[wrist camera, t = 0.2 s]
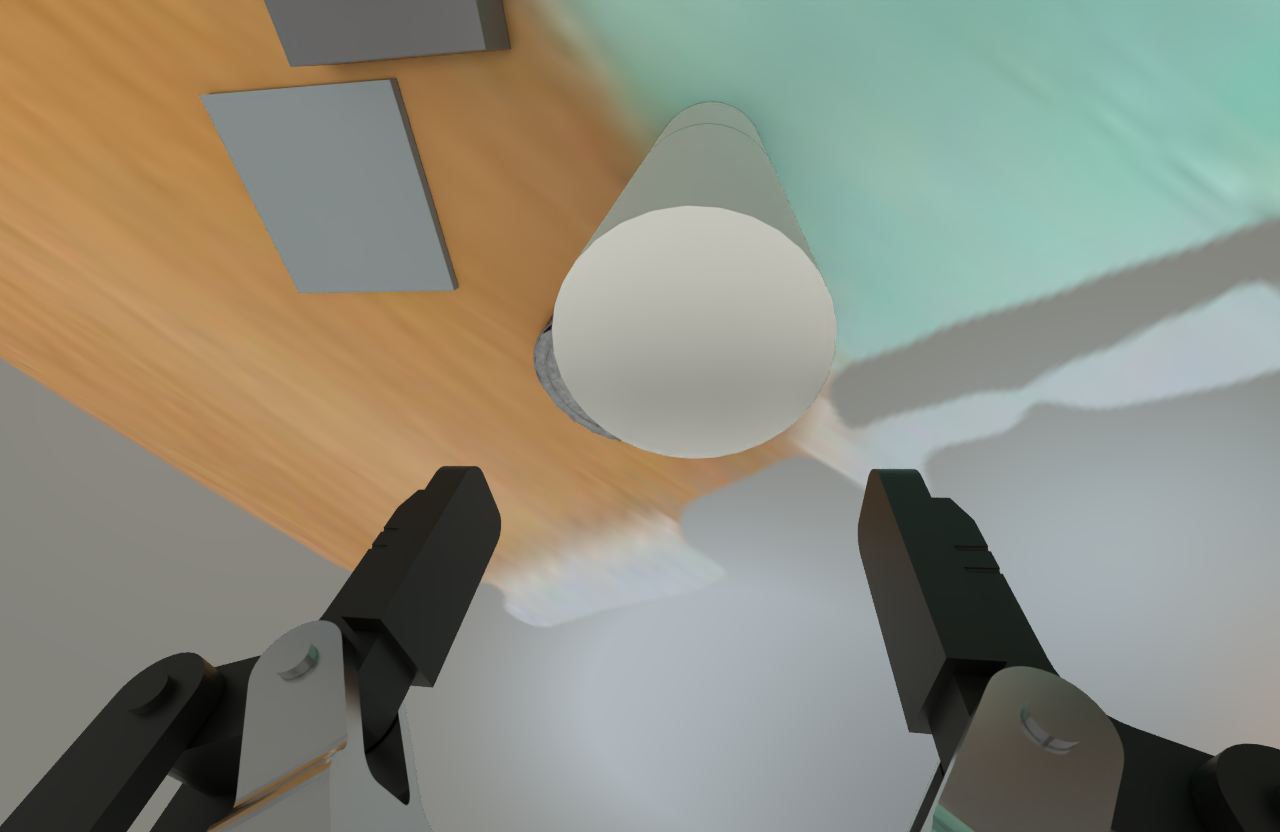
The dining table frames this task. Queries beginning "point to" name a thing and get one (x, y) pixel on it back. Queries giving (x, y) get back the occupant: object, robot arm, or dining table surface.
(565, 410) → the canned food
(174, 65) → the dining table surface
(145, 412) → the dining table surface
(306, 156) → the mat
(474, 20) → the gray square hole block
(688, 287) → the cylindrical container
